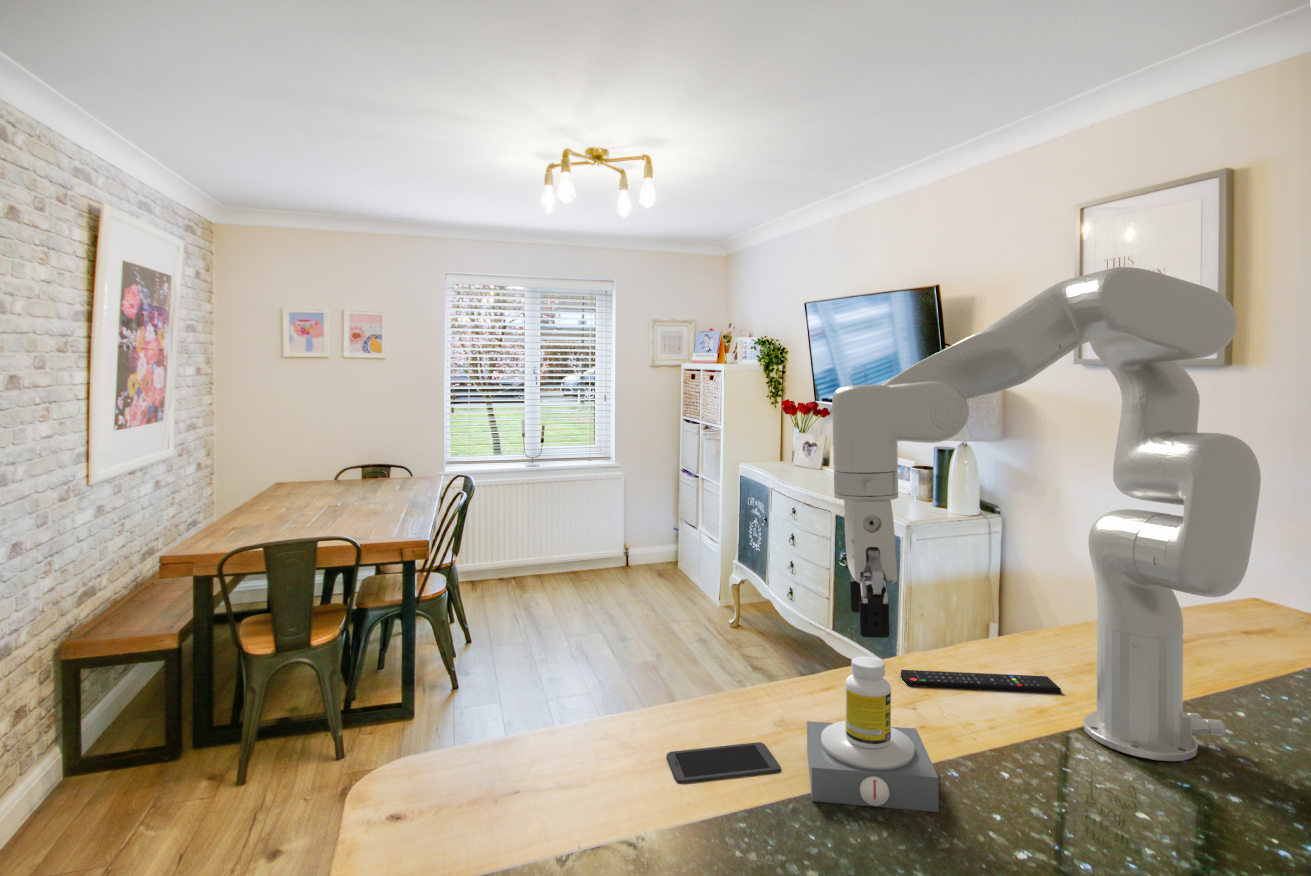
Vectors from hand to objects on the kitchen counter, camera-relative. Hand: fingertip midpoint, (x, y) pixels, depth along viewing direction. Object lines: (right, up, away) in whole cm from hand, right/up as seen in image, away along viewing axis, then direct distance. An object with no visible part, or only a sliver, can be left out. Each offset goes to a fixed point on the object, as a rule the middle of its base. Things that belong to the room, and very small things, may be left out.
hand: (868, 623), depth 81 cm
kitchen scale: (0, -19, 0) cm, 19 cm away
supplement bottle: (0, -15, 0) cm, 15 cm away
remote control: (+28, -19, +29) cm, 44 cm away
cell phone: (-18, -20, +5) cm, 27 cm away
